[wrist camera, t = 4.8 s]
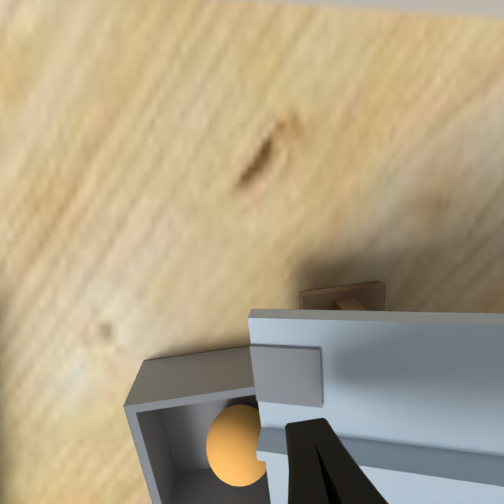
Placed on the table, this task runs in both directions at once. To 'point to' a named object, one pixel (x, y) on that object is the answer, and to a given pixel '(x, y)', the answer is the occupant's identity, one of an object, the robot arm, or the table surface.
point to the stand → (345, 298)
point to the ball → (235, 445)
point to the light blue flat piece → (387, 397)
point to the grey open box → (189, 424)
